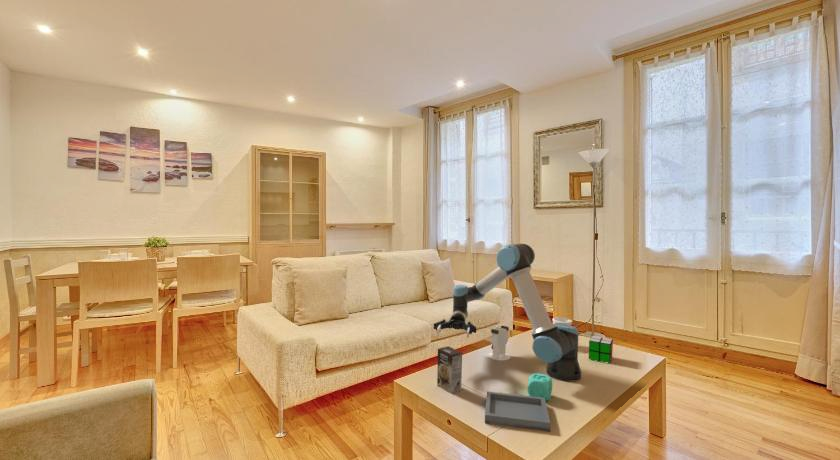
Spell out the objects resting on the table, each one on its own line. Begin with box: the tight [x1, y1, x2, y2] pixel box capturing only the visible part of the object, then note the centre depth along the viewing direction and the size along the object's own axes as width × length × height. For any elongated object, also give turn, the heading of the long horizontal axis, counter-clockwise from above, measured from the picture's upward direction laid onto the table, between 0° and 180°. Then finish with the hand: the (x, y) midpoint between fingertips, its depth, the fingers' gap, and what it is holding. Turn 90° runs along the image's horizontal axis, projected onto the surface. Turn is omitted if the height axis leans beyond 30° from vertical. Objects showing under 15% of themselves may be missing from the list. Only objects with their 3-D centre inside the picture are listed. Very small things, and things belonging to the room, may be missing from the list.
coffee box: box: [436, 345, 463, 394], centre depth 158 cm, size 9×6×16 cm
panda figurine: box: [487, 325, 511, 362], centre depth 194 cm, size 12×11×15 cm
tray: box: [484, 391, 551, 432], centre depth 138 cm, size 22×18×3 cm
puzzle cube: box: [588, 335, 614, 364], centre depth 193 cm, size 10×10×10 cm
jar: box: [551, 316, 573, 326], centre depth 211 cm, size 11×10×15 cm
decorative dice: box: [527, 372, 553, 402], centre depth 151 cm, size 8×8×8 cm
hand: (452, 333), depth 168 cm, fingers open, 13 cm apart
